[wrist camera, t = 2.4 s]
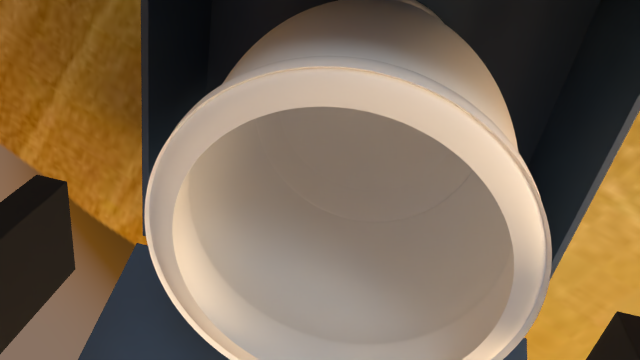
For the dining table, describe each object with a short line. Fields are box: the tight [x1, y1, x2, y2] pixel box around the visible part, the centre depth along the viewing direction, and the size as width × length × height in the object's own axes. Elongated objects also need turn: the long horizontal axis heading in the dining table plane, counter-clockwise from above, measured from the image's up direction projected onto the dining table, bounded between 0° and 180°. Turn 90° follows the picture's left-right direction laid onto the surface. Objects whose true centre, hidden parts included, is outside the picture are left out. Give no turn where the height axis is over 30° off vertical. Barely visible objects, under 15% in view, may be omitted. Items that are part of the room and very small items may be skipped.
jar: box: [145, 0, 552, 360], centre depth 20 cm, size 11×10×15 cm
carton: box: [141, 0, 640, 279], centre depth 20 cm, size 18×16×15 cm
